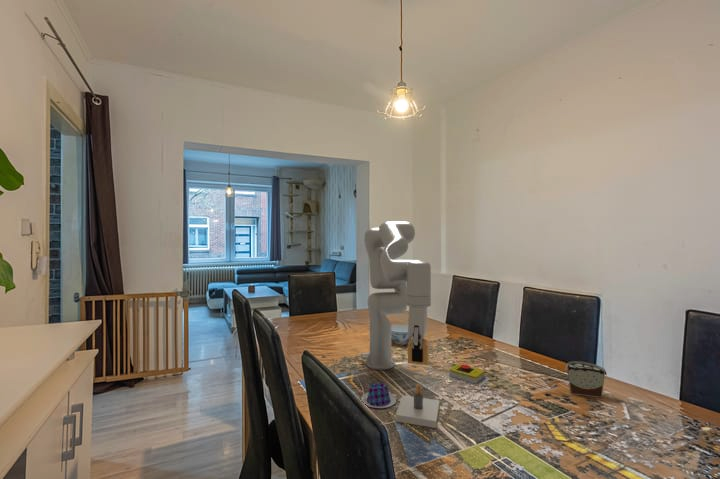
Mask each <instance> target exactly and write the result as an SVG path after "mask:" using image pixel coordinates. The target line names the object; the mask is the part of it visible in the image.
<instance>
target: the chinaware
mask: <svg viewBox="0 0 720 479" xmlns="http://www.w3.org/2000/svg"><path fill="white" fill-rule="evenodd" d="M412 338H413V336H412ZM410 339H411V338H410ZM410 339H409V338H408V324H391V340H393V341H394V343H395V345H396V344H397V345H406V344H407V345H408V342H409V340H410Z"/></svg>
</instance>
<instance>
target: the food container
mask: <svg viewBox="0 0 720 479" xmlns="http://www.w3.org/2000/svg"><path fill="white" fill-rule="evenodd" d="M565 371H566V372H567V376H568V384H569V385H568V386H569V391H570V392H569V393H570V395H578V396H586V397H592V398H593V397H594V398H600V399H601V398H603V392H604V391H603V390H604V385H605V384H604V382H605V376H607V374H608V373H607V371H606V368H604V367H603V366H600V365H599V364H595V363H591V362H585V361H577V360H575V361H574V360H573V361H568V362H567V364H566V366H565Z"/></svg>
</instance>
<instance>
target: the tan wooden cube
mask: <svg viewBox="0 0 720 479" xmlns="http://www.w3.org/2000/svg"><path fill="white" fill-rule="evenodd" d="M418 342H419V343H420V341H418ZM412 343H413V337H412V338H411V339H410V340H409V341H407V363H408V364H414V365H422V366H428V365H429V362H430V339H422V349H423V361H422V362H414V361H412Z"/></svg>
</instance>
